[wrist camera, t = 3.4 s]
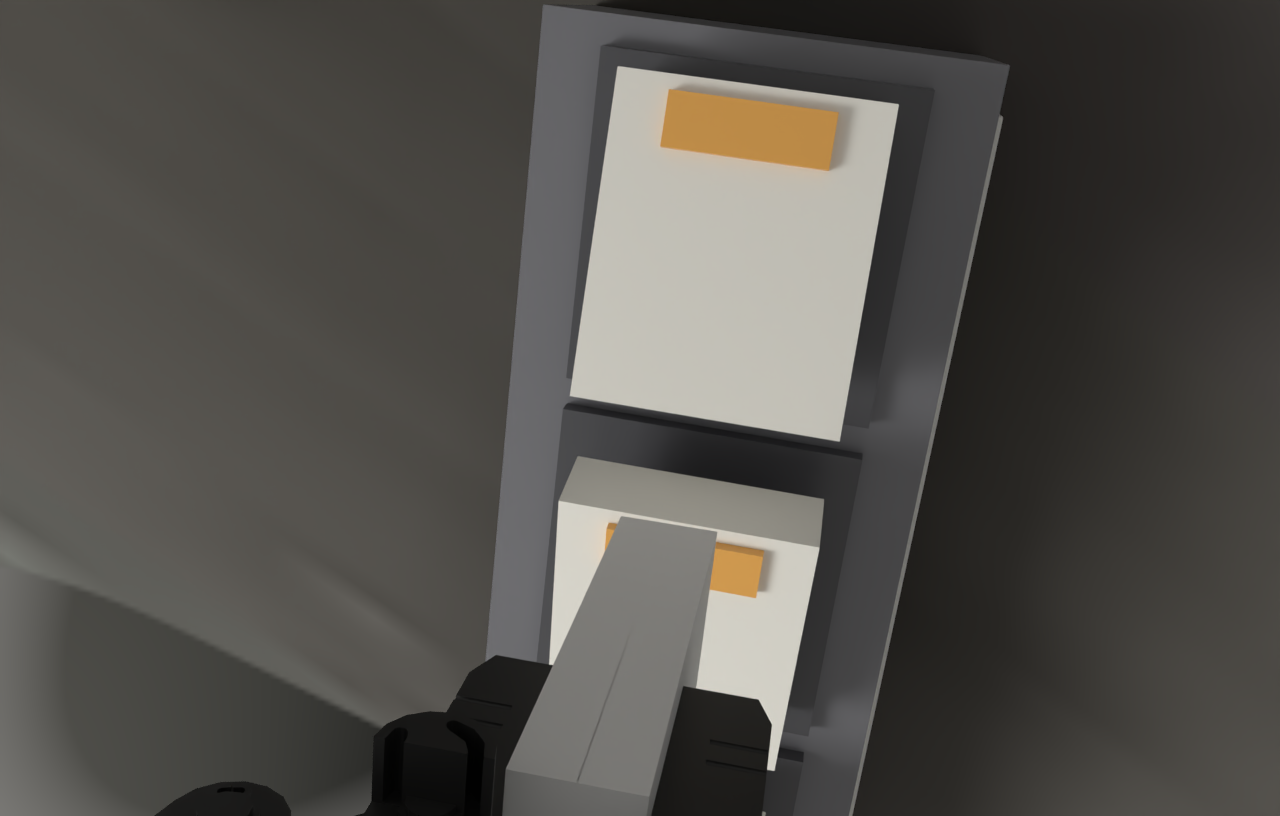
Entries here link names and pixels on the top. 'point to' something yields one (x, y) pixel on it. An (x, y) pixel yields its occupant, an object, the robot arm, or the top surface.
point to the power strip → (831, 470)
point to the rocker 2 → (741, 575)
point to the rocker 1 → (732, 251)
